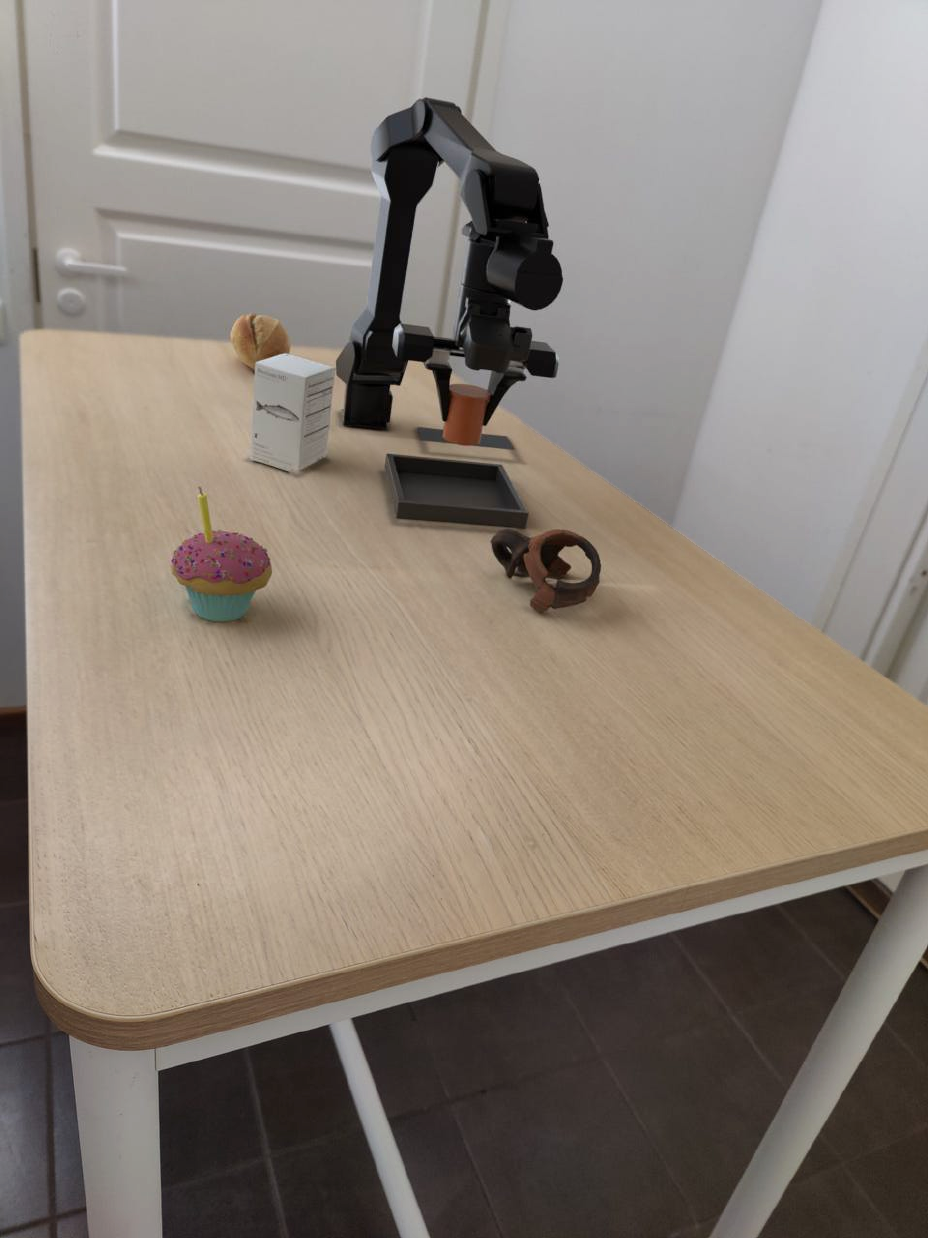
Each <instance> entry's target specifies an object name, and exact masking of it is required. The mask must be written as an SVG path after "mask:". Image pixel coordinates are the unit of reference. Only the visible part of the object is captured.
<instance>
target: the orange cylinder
mask: <svg viewBox="0 0 928 1238" xmlns="http://www.w3.org/2000/svg"><path fill="white" fill-rule="evenodd" d="M490 398H491V393H490V392H489V391H488V389H486V388H484V387H481V386H478V385H473V384H468V383H450V389H449V408H448V415H447V420H446V422H444V425H443V429H442V430H443V438H444V439H445V440H447V441H449V442H451V443H454V444H453V445H458V446H464V447H470V446H471V447H475V446H474V445H478V444H479V443H480V440H481V434H483V427H484V426H483V423H484V417H485V412H486V406H487V401H488V400H489V399H490Z"/></svg>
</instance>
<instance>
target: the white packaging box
mask: <svg viewBox="0 0 928 1238" xmlns="http://www.w3.org/2000/svg"><path fill="white" fill-rule="evenodd" d="M335 376H336V366H332V365H328V364H325V363H321V362H317V361H313V360H311V359H307V358H303V357H300V356H297V355H293V354H291V353H289V354H286V353H284V354H280V355H277V356H274V357H271V358H267V359H264V360H261V361H258V362H256V363H255V370H254V379H253V380H254V382H253V398H252V416H251V434H250V435H251V436H250V451H249V460H250V461H253V462H258V463H261V464H264V465H267V466H270V467H274V468H277V469H279V470H283V471H286V472H290V469H292V470H295V471H301V470H303V469H305V468H307V467H309V466H311V465H313V464H315V463H316V462H318V461H320V460H322V459H324V458H326V457H327V454H328V453H327V451H328V442H329V435H330V426H331V425H330V424H331V415H332V414H331V412H332V405H333V404H332V403H333V395H334V394H333V393H334V385H335Z"/></svg>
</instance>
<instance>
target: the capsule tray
mask: <svg viewBox="0 0 928 1238" xmlns="http://www.w3.org/2000/svg"><path fill="white" fill-rule="evenodd" d="M384 461H385V462H384V471H385V472H384V473H385V476H386V480H387V484H388V490H389V493H390V497H391V501H392V505H393V510H394V515H395V519H398V520H399V519H400V520H411V521H423V522H435V523H447V524H449V523H450V524H461V525H471V526H472V525H473V526H484V527H485V526H486V527H497V528H507V529H522V530H525V529H526V527H527V523H528V519H529V511H528V510H527V507H526V506H525V504H524V502H523V500H522V499H521V497H520V495H519V493H518V490H516V489H517V488H516V487H515V486H514V484H513V482H512V480H511V478H510V477H509V475H508V473H507V471H506V469H505V467H504V465H503V464H499V463H489V462H479V461H467V460H457V459H448V458H437V457H428V456H427V457H426V456H416V455H407V454H397V453H396V454H395V453H385V460H384Z"/></svg>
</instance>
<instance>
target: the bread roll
mask: <svg viewBox="0 0 928 1238" xmlns="http://www.w3.org/2000/svg"><path fill="white" fill-rule="evenodd" d="M230 342H231V344H232V347H233V349H234V351H235V353H236V355H237V356H238V358H239V359H240V360H241V361H242V362H243V364H244V365H246V366H247V367H248V368H250V369H252V370H254V371H255V363H256V362H258V361H261V360H264V359H267V358H271V357H274V356H277V355H280V354H284V353H286V354H291V353H290V352H291V340H290V336H289V334H288V332H287V330H286V328H285V326H284V325H283V324H282V323H281V321H279V319H276V318H274V317H271V316H269V315H264V314H259V315H257V314H256V313H249V314H243V315H241V316H240V317H238V318H237V320H236V321H235V322H234V323H233V326H232V328H231V331H230Z"/></svg>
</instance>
